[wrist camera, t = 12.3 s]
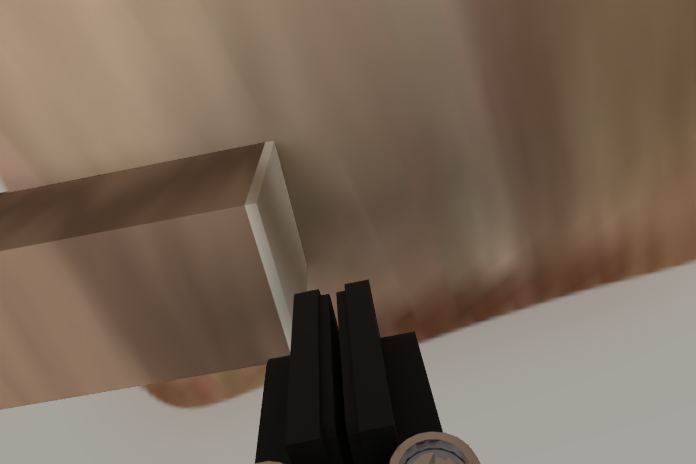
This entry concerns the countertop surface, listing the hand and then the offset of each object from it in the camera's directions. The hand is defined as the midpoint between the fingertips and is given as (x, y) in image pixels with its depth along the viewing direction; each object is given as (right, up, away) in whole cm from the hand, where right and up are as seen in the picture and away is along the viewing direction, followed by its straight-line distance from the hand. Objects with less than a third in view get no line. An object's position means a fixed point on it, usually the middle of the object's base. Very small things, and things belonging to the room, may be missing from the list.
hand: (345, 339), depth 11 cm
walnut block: (-2, +2, +4) cm, 5 cm away
